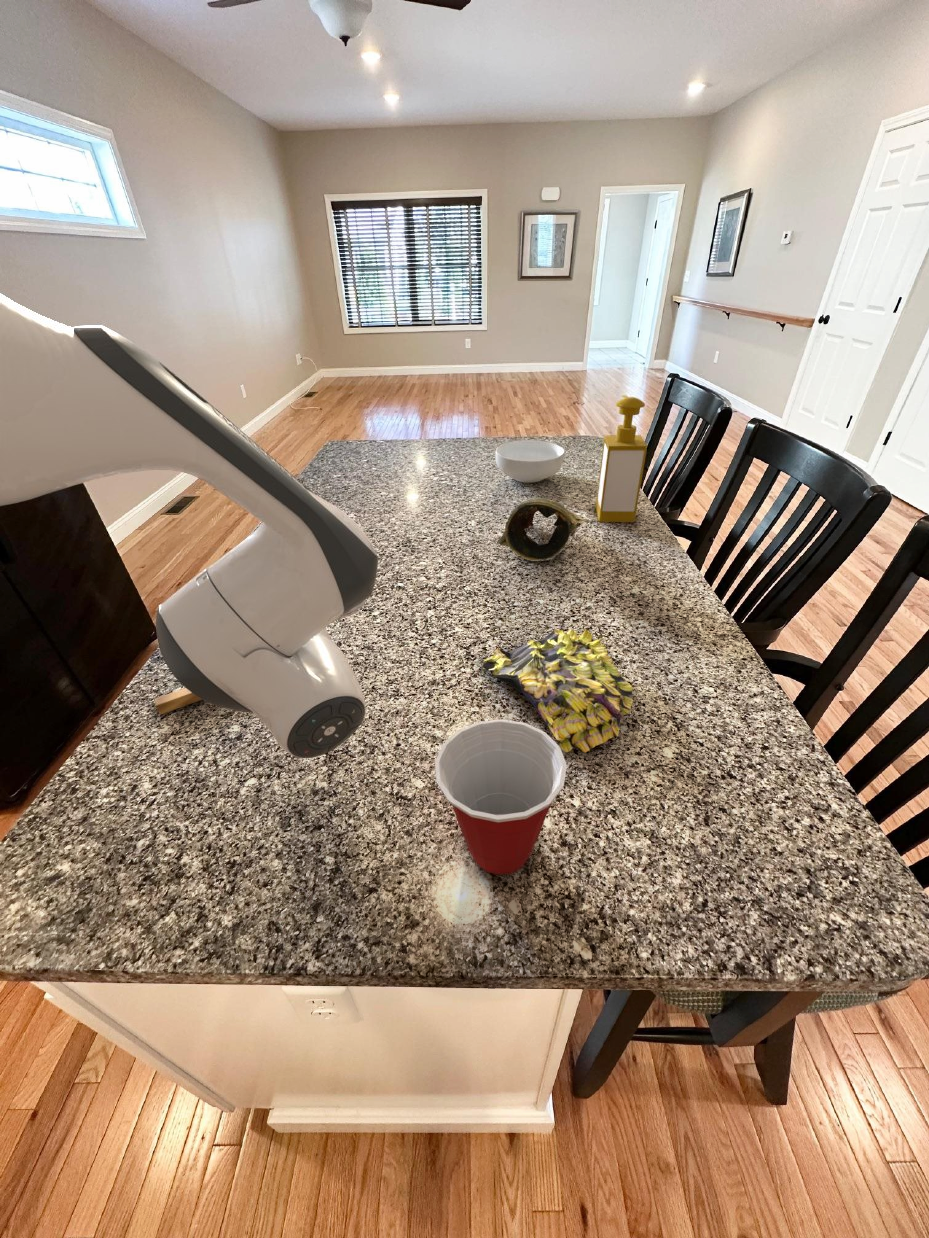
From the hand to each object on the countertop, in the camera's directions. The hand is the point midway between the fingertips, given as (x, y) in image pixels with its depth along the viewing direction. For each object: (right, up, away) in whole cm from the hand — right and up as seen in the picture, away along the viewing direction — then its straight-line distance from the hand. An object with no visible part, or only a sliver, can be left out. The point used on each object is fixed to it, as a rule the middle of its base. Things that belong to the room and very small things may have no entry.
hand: (250, 581), depth 64 cm
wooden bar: (-8, -15, +3) cm, 17 cm away
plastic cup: (+30, -26, -15) cm, 43 cm away
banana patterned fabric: (+39, -14, +2) cm, 41 cm away
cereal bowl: (+43, +31, +66) cm, 85 cm away
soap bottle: (+59, +19, +48) cm, 78 cm away
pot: (+41, +8, +34) cm, 54 cm away
